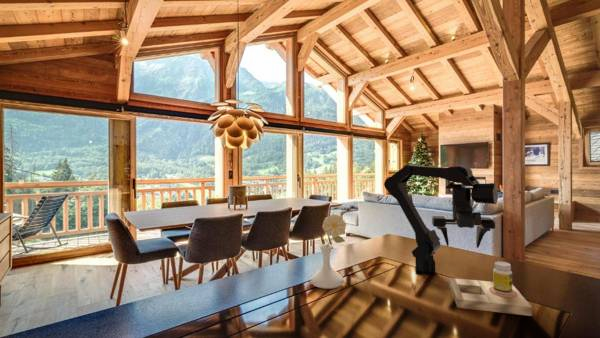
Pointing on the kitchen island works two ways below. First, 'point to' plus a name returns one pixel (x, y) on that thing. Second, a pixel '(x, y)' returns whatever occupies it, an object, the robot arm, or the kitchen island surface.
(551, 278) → the kitchen island surface
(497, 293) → the coaster
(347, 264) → the kitchen island surface
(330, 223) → the flower in vase
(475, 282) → the pocket board
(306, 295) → the kitchen island surface
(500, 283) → the supplement bottle
